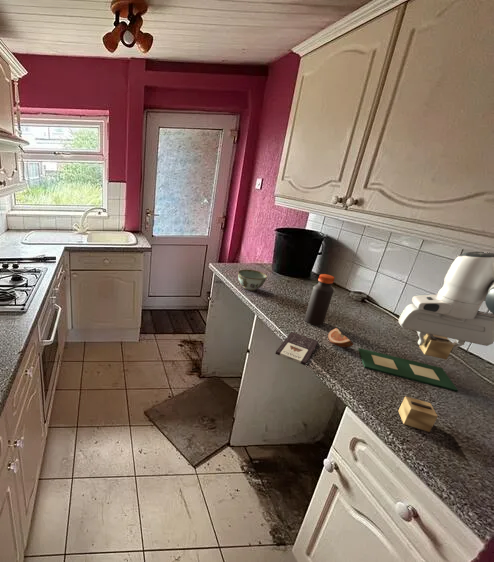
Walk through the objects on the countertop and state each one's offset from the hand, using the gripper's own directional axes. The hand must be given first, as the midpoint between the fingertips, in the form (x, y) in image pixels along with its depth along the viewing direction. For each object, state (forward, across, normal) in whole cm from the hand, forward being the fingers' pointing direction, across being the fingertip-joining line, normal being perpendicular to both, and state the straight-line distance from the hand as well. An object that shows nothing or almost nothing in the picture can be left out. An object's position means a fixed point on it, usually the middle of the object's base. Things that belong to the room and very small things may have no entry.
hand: (434, 347), depth 94 cm
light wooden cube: (+9, +9, +27) cm, 30 cm away
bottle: (+10, +29, -21) cm, 37 cm away
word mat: (+10, +5, 0) cm, 11 cm away
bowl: (+10, +56, -45) cm, 73 cm away
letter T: (+2, 0, 0) cm, 2 cm away
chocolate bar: (+10, +35, +5) cm, 36 cm away
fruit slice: (+10, +22, -5) cm, 24 cm away
